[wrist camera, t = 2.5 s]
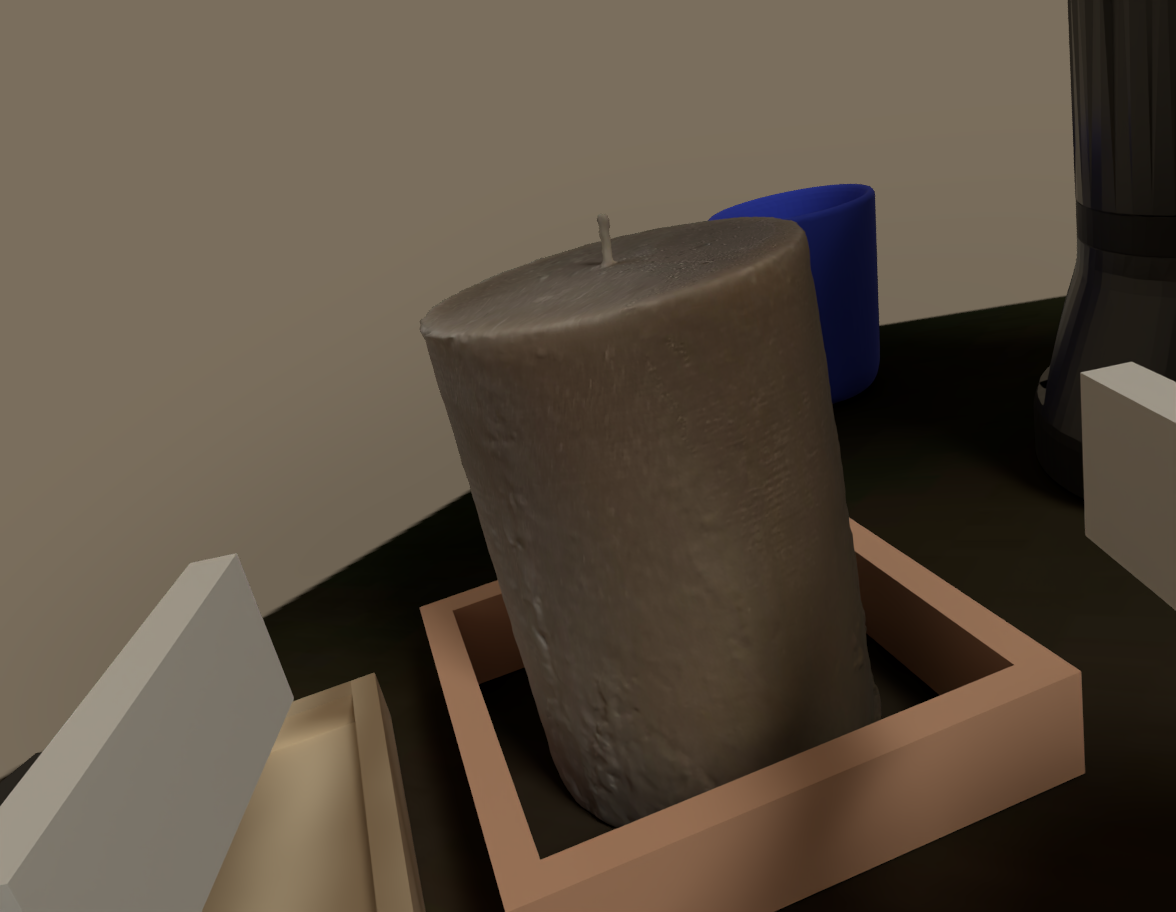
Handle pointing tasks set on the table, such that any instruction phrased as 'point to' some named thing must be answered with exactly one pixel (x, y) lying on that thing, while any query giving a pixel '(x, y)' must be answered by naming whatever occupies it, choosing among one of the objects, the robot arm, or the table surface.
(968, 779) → the holder
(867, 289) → the mug
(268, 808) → the tray
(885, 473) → the table surface
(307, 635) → the table surface
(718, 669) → the pillar candle
